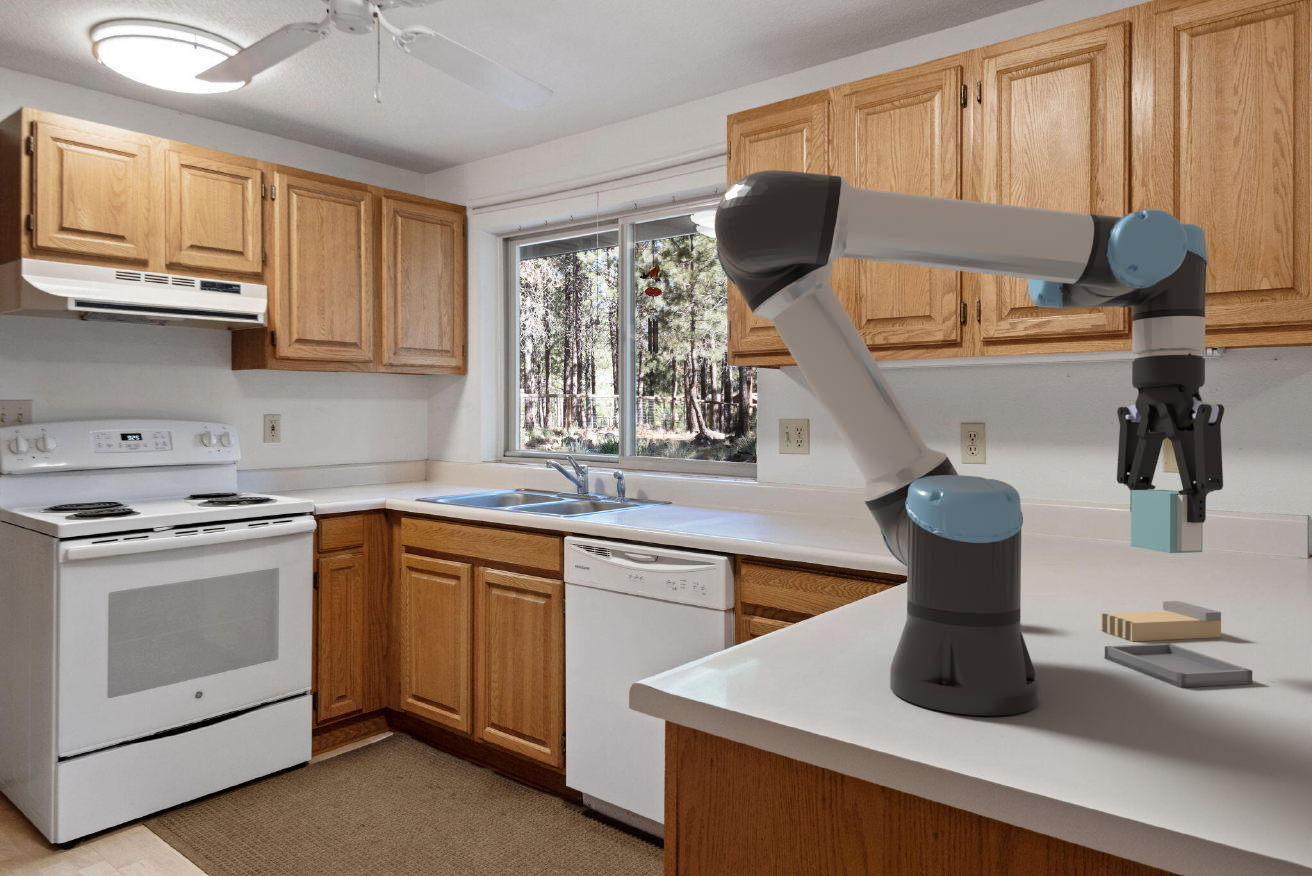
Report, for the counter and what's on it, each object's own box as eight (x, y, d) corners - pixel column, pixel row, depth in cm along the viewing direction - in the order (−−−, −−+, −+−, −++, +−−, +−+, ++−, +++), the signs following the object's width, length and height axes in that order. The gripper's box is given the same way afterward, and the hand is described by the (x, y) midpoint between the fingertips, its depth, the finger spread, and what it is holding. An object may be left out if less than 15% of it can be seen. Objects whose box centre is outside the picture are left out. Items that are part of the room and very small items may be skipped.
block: (1169, 553, 97) (1170, 493, 97) (1130, 546, 103) (1131, 490, 103) (1202, 552, 98) (1202, 493, 98) (1161, 545, 104) (1162, 489, 104)
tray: (1181, 687, 93) (1181, 674, 93) (1104, 658, 105) (1104, 646, 105) (1252, 683, 94) (1252, 670, 94) (1168, 654, 106) (1168, 643, 106)
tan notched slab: (1136, 642, 112) (1136, 615, 112) (1097, 629, 120) (1097, 603, 120) (1225, 638, 115) (1226, 611, 115) (1182, 625, 122) (1182, 600, 122)
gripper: (1266, 349, 92) (1263, 557, 92) (1134, 362, 110) (1132, 535, 111) (1209, 347, 90) (1206, 559, 90) (1085, 361, 109) (1083, 536, 109)
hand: (1165, 545), depth 101 cm, fingers closed on block, 6 cm apart
